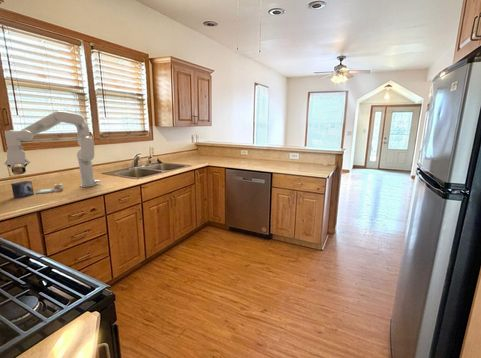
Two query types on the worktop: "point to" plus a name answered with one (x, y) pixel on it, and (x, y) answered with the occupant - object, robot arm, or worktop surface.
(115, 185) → the worktop surface
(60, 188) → the oak cube
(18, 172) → the walnut cube
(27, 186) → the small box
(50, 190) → the grey square plate
